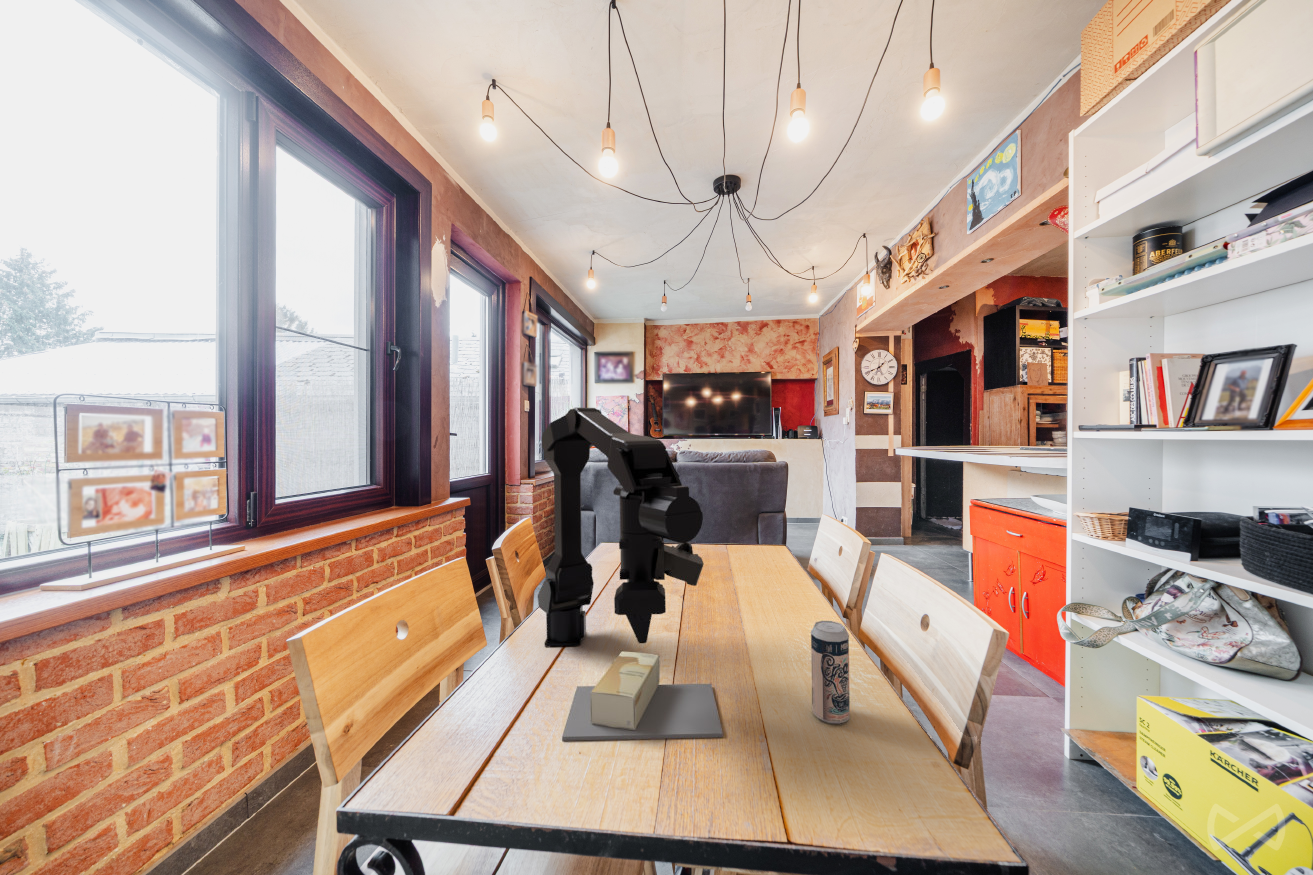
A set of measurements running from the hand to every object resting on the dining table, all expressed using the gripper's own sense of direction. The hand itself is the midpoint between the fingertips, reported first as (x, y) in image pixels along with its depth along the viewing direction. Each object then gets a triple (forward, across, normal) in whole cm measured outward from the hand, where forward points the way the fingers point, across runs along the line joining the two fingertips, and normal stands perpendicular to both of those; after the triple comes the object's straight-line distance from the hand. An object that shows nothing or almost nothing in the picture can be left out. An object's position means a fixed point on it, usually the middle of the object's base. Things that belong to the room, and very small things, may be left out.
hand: (642, 642), depth 67 cm
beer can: (+9, -3, -25) cm, 27 cm away
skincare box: (+6, +6, +1) cm, 9 cm away
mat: (+9, -1, 0) cm, 9 cm away
